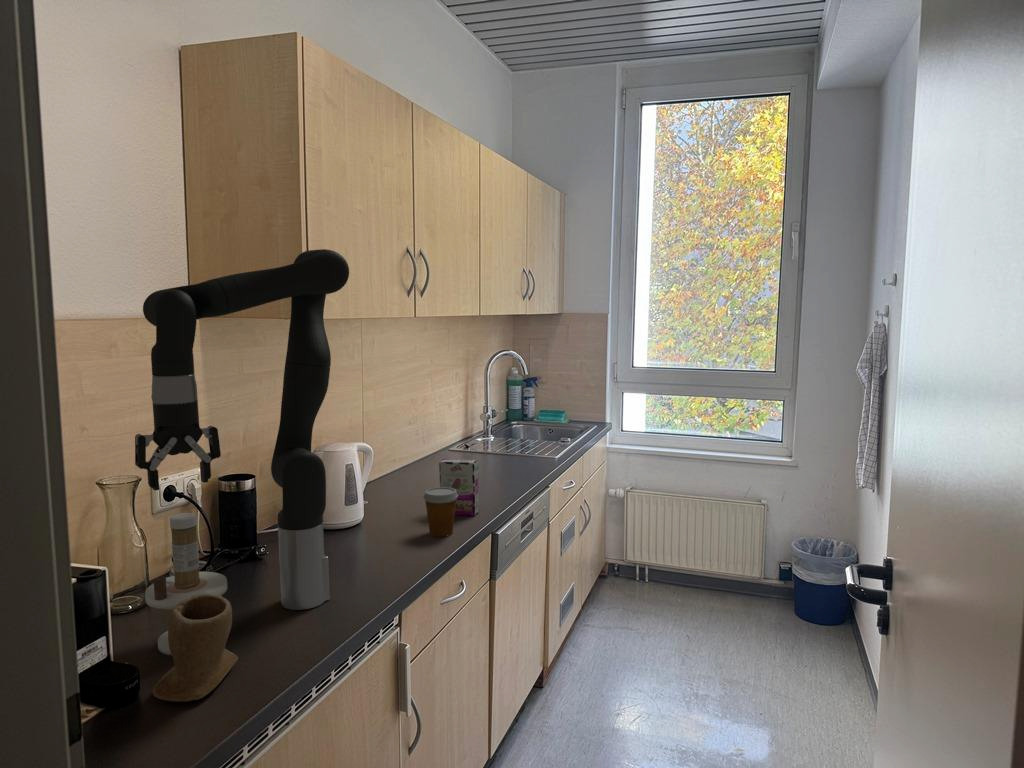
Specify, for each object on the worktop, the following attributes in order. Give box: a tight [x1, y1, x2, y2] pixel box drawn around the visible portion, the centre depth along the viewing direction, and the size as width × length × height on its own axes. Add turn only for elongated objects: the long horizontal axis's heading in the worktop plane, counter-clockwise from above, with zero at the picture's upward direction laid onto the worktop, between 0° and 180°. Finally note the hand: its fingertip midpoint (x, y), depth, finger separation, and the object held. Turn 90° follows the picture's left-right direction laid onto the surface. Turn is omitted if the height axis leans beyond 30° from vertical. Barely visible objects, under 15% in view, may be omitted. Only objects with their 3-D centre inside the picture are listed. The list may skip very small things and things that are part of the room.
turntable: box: [144, 571, 228, 610], centre depth 133 cm, size 14×14×5 cm
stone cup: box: [152, 594, 239, 703], centre depth 119 cm, size 15×12×15 cm
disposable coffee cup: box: [423, 486, 458, 537], centre depth 196 cm, size 10×10×12 cm
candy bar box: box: [438, 458, 480, 517], centre depth 214 cm, size 11×5×16 cm, turn 76°
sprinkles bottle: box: [169, 512, 200, 589], centre depth 132 cm, size 5×5×13 cm
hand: (180, 485), depth 132 cm, fingers open, 8 cm apart
